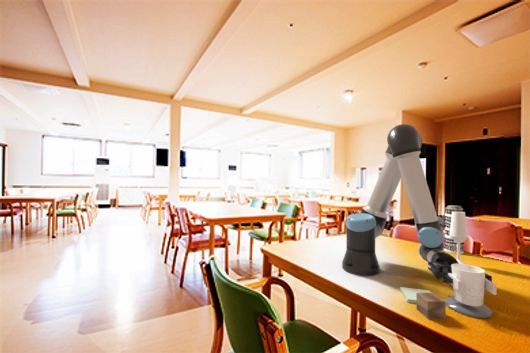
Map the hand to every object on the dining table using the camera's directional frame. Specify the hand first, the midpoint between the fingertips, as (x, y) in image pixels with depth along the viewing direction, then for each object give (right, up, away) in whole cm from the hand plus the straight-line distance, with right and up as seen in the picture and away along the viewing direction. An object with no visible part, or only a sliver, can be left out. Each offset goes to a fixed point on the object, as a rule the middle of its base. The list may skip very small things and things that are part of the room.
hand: (476, 287), depth 68 cm
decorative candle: (+43, -9, +63) cm, 77 cm away
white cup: (+1, -6, +5) cm, 8 cm away
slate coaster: (+1, -8, +5) cm, 10 cm away
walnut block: (-12, -8, +1) cm, 15 cm away
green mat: (-10, -8, +11) cm, 17 cm away
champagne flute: (+30, -9, +44) cm, 54 cm away
